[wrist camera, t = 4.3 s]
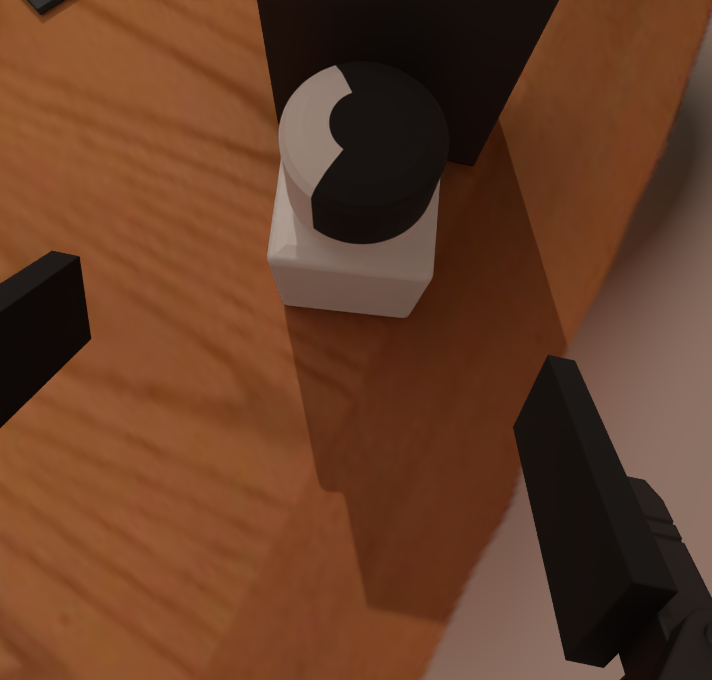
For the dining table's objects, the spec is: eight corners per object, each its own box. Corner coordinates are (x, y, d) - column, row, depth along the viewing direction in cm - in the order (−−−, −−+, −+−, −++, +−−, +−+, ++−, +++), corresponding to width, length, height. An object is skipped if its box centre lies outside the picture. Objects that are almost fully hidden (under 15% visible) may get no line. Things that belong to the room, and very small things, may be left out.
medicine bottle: (418, 203, 29) (475, 45, 18) (408, 320, 28) (464, 234, 16) (297, 188, 29) (274, 20, 18) (281, 306, 28) (244, 208, 16)
